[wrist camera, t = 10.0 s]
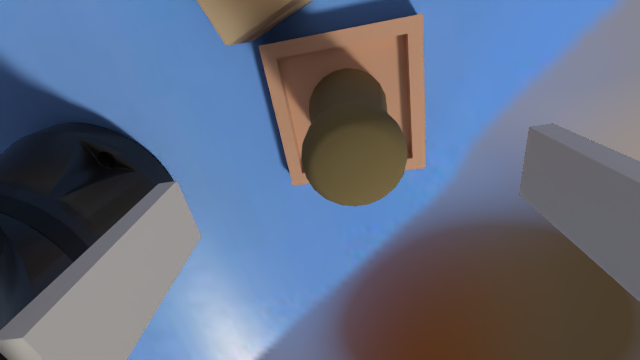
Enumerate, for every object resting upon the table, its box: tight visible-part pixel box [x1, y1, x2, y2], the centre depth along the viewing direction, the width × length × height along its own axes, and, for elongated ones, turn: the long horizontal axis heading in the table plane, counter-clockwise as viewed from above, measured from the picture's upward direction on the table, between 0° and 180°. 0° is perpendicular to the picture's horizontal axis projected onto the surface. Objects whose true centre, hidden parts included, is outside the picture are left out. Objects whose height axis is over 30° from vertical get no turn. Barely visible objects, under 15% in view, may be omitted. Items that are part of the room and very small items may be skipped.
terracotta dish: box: [259, 14, 426, 186], centre depth 23 cm, size 11×11×1 cm
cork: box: [301, 68, 408, 206], centre depth 18 cm, size 6×6×11 cm
